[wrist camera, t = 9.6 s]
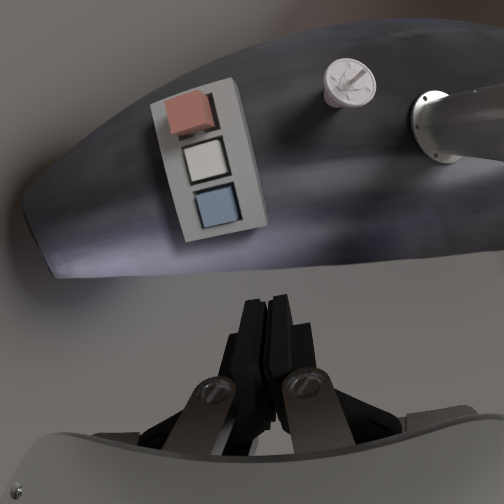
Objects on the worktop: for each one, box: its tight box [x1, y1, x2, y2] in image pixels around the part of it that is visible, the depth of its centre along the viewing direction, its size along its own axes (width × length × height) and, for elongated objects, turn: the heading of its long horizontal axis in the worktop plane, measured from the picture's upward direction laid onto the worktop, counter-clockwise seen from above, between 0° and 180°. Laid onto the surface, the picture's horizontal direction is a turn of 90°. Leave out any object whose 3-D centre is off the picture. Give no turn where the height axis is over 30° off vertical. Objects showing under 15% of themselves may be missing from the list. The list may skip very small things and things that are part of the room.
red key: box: [164, 90, 215, 136], centre depth 31 cm, size 4×4×4 cm
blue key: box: [196, 184, 241, 227], centre depth 38 cm, size 4×4×4 cm
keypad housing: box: [150, 77, 268, 242], centre depth 37 cm, size 12×21×5 cm, turn 13°
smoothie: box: [324, 59, 376, 108], centre depth 28 cm, size 6×6×14 cm
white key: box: [184, 140, 230, 181], centre depth 36 cm, size 4×4×4 cm
